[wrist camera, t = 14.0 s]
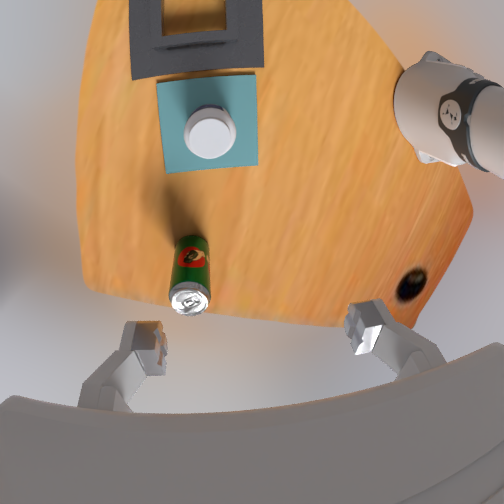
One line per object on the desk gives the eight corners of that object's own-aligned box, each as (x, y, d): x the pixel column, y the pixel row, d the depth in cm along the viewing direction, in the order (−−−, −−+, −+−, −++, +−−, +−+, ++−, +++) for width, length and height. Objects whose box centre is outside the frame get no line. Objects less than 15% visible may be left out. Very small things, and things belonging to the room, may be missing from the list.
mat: (255, 75, 31) (255, 74, 31) (257, 164, 38) (258, 165, 37) (157, 83, 30) (156, 83, 29) (166, 172, 36) (166, 173, 36)
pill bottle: (179, 127, 33) (168, 143, 25) (207, 95, 31) (206, 98, 23) (212, 153, 35) (212, 177, 27) (240, 122, 34) (251, 135, 26)
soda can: (168, 244, 42) (159, 298, 32) (197, 227, 41) (194, 279, 31) (188, 267, 45) (185, 323, 35) (215, 252, 44) (219, 307, 34)
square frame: (259, -39, 22) (265, -50, 18) (263, 67, 30) (269, 65, 27) (131, -26, 20) (123, -36, 17) (133, 80, 29) (124, 80, 26)
